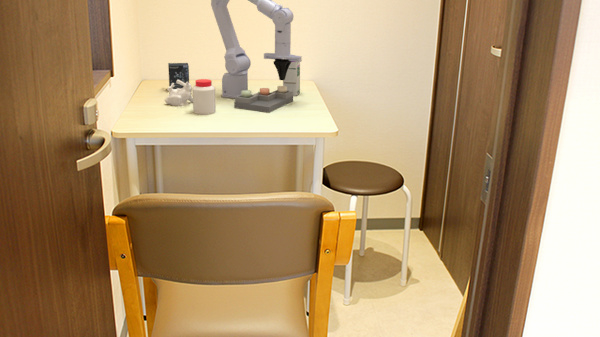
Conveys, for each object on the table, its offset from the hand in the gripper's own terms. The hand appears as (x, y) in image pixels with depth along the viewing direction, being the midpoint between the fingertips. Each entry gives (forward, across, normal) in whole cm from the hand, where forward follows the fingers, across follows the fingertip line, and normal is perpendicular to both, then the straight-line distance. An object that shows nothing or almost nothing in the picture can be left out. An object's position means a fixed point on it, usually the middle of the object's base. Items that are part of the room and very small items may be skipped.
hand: (282, 79), depth 224 cm
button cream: (+5, 0, 0) cm, 5 cm away
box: (+9, -44, -2) cm, 45 cm away
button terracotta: (+5, -4, -6) cm, 9 cm away
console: (+8, -4, -6) cm, 11 cm away
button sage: (+5, -8, -13) cm, 16 cm away
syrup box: (+9, -2, +14) cm, 16 cm away
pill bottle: (+9, -17, -26) cm, 33 cm away
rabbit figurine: (+9, -30, -22) cm, 38 cm away
